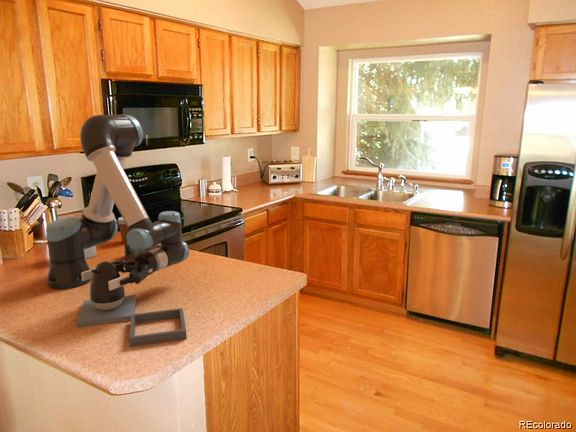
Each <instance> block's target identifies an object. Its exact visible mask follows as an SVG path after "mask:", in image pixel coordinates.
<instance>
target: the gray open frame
mask: <svg viewBox="0 0 576 432" xmlns="http://www.w3.org/2000/svg"><path fill="white" fill-rule="evenodd" d="M175 318H177V319H178V318H179V320H180V328H181V329H175V330H167V331H160V332H153V333H145V334H140V335H138V334H137V335H136V324H139V323H145V322H153V321H161V320H169V319H175ZM128 338H129V347H130V348H132V347H139V346H145V345H151V344H152V345H153V344H159V343H166V342H172V341H179V340H186V339H187V328H186V321H185V314H184V308H183V307H180V308H173V309H172V308H171V309H163V310H156V311H150V312H149V311H147V312H141V313H140V312H139V313H135V314H132V315H131V320H130V328H129V337H128Z"/></svg>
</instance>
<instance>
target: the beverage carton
mask: <svg viewBox="0 0 576 432" xmlns="http://www.w3.org/2000/svg"><path fill="white" fill-rule="evenodd" d="M160 247H161V244H157V245H154V246H152V247H151V248H149V249H144V250H141V251H135V250H133V249H131V248H130V247H129V245H128V243H124V256H125V258H127V259H128V258H129V259H133V260H135V259H136V257H137V255H139V254H141V253H145V252H148V251H150V250H153V249H156V248H160Z"/></svg>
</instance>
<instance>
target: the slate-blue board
mask: <svg viewBox="0 0 576 432" xmlns="http://www.w3.org/2000/svg"><path fill="white" fill-rule="evenodd" d="M136 299H137V298H136V294H129V295H125V296H124V298H123V301H122V303H121V304H120V305H119V306H118V307H117V308H115V309H112V310H106V311H105V310H100V309H97V308H96V307H95V306H94V305H93V303H92V301H91V300H90V299H87V300H86V299H85V300H83V303H82V306H81V309H80V312H79V315H78V317H77V319H76V327H77V328H80V327H87V326H95V325H103V324H112V323H117V322H118V323H120V322H127V321H131V315H132V314H136V313H135V311H136V301H137V300H136Z"/></svg>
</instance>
